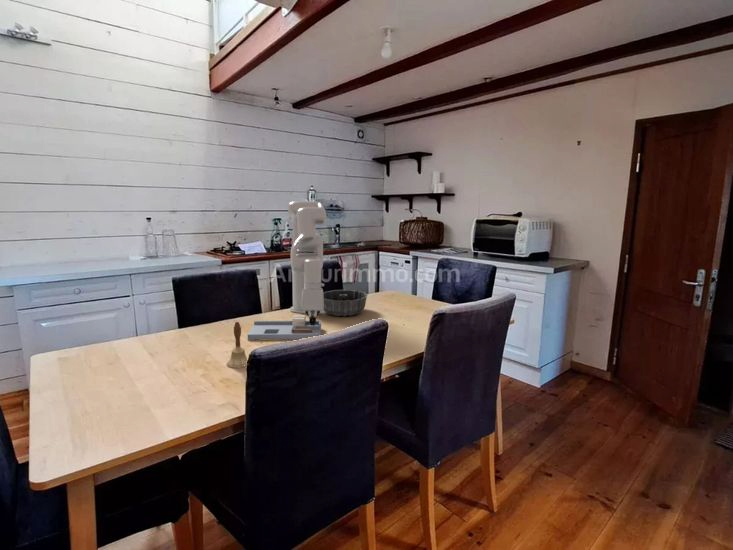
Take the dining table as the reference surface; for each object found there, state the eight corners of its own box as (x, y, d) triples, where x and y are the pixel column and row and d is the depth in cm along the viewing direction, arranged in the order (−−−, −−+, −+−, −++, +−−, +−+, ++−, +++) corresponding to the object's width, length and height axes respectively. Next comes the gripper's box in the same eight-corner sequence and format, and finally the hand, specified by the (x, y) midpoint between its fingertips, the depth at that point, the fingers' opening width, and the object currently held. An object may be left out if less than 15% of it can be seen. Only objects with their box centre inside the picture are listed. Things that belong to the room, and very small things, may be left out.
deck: (254, 329, 183) (254, 320, 182) (321, 328, 186) (321, 320, 185) (247, 340, 168) (247, 331, 168) (320, 339, 171) (320, 330, 170)
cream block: (293, 324, 183) (293, 315, 182) (305, 324, 183) (305, 315, 182) (292, 328, 177) (292, 318, 177) (304, 328, 178) (304, 318, 177)
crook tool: (292, 330, 174) (292, 327, 174) (312, 330, 175) (312, 327, 175) (291, 332, 171) (291, 329, 171) (312, 332, 172) (312, 329, 172)
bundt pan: (310, 316, 206) (310, 297, 204) (329, 304, 231) (329, 287, 229) (358, 321, 198) (358, 302, 197) (372, 308, 223) (373, 291, 221)
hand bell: (255, 362, 146) (253, 321, 143) (237, 370, 139) (235, 327, 136) (239, 357, 150) (237, 317, 147) (221, 364, 143) (219, 323, 140)
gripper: (329, 284, 182) (329, 322, 185) (296, 284, 180) (297, 322, 184) (329, 287, 174) (328, 327, 178) (295, 287, 173) (295, 327, 176)
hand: (312, 324), depth 181 cm, fingers closed
